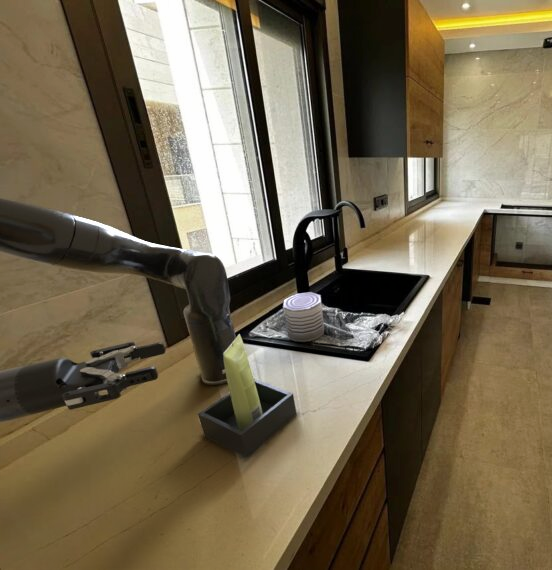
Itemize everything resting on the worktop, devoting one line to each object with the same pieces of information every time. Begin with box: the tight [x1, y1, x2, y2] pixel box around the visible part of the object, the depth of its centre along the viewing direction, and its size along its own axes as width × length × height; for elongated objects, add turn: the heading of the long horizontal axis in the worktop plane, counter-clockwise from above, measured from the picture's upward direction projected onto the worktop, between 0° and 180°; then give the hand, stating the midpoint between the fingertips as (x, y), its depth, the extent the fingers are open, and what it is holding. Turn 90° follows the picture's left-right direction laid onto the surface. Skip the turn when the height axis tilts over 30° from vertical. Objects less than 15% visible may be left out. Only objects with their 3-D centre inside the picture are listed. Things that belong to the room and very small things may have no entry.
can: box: [282, 291, 325, 343], centre depth 104 cm, size 11×11×12 cm
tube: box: [223, 333, 263, 431], centre depth 66 cm, size 6×5×20 cm
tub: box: [197, 378, 298, 459], centre depth 69 cm, size 13×13×6 cm
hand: (160, 359), depth 57 cm, fingers open, 8 cm apart
